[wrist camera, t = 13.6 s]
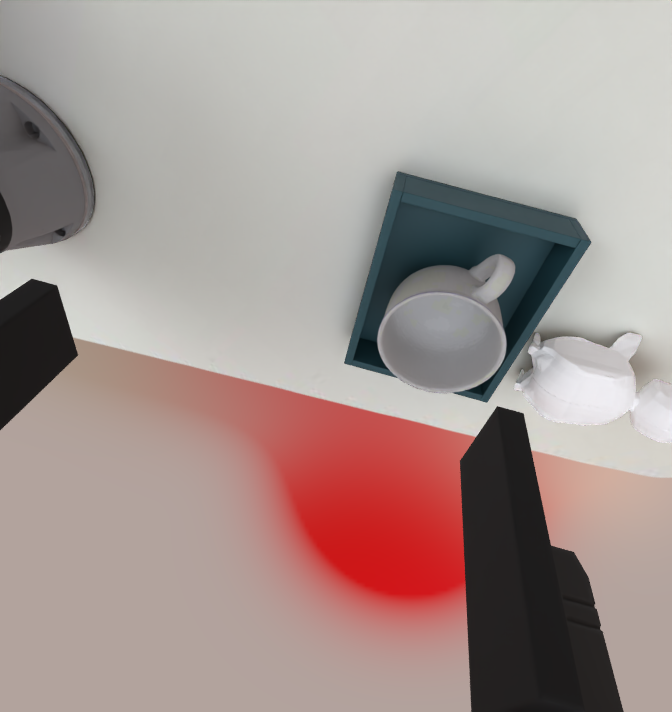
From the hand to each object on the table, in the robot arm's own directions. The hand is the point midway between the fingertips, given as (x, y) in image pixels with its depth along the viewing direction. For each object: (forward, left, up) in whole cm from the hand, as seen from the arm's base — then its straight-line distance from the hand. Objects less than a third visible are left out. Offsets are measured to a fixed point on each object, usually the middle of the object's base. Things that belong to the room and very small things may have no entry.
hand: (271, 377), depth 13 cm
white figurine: (+27, -15, -29) cm, 42 cm away
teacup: (+10, -11, -28) cm, 32 cm away
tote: (+10, -11, -29) cm, 32 cm away
